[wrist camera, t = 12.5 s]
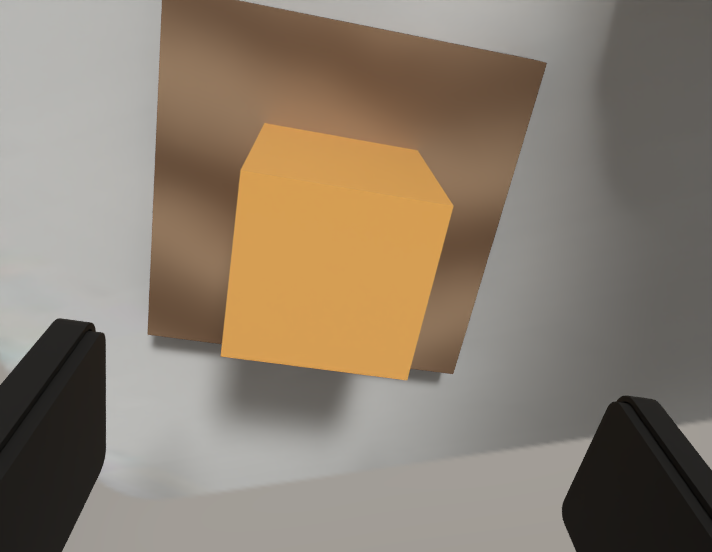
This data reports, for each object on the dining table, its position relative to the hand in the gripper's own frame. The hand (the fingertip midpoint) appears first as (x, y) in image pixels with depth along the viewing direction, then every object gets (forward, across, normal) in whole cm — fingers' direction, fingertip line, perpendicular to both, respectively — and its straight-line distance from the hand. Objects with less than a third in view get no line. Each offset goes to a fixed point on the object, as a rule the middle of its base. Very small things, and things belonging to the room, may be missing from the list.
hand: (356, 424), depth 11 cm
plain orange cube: (+14, 0, +1) cm, 14 cm away
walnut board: (+16, 0, +1) cm, 16 cm away
